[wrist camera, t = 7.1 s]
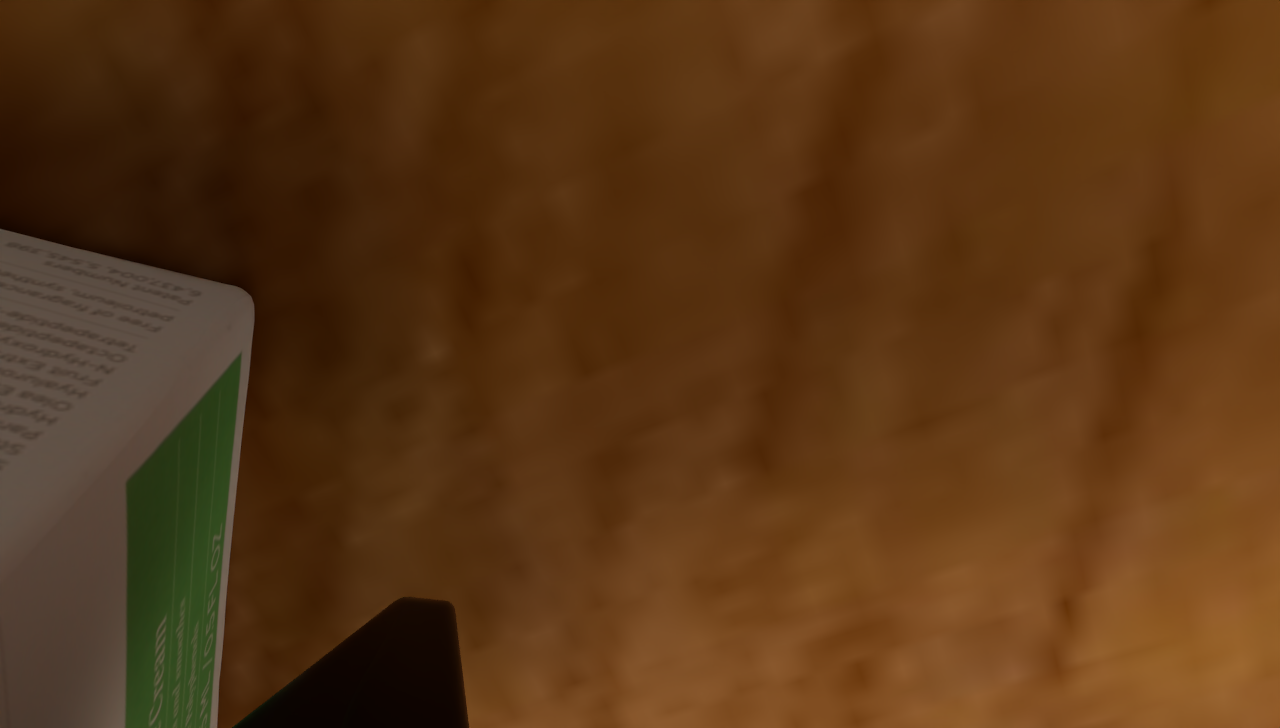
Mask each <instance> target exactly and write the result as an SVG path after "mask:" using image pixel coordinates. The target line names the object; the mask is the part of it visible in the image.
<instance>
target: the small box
mask: <svg viewBox="0 0 1280 728" xmlns="http://www.w3.org/2000/svg"><path fill="white" fill-rule="evenodd" d="M253 330H254V303H253V300H252V297H251V296H250V295H249V294H248V293H247V292H246V291H245V290H243V289H242V288H240V287H237V286H233V285H228V284H224V283H219V282H215V281H211V280H207V279H203V278H199V277H195V276H191V275H186V274H182V273H177V272H173V271H169V270H165V269H161V268H156V267H153V266H149V265H144V264H140V263H136V262H132V261H128V260H124V259H119V258H115V257H111V256H107V255H102V254H98V253H95V252H91V251H87V250H82V249H77V248H73V247H69V246H65V245H61V244H57V243H54V242H50V241H46V240H42V239H38V238H34V237H30V236H26V235H22V234H19V233H15V232H11V231H7V230H3V229H0V728H217V722H218V701H219V679H220V671H221V661H222V650H223V639H224V625H225V611H226V596H227V585H228V574H229V562H230V552H231V541H232V530H233V520H234V510H235V501H236V491H237V481H238V471H239V461H240V451H241V441H242V432H243V423H244V414H245V405H246V397H247V388H248V380H249V371H250V359H251V348H252V338H253Z"/></svg>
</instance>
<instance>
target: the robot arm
mask: <svg viewBox="0 0 1280 728" xmlns="http://www.w3.org/2000/svg"><path fill="white" fill-rule="evenodd" d="M232 728H469V723H468V715H467V707H466V698H465V690H464V681H463V673H462V665H461V656H460V648H459V640H458V631H457V623H456V614H455V609H454V606H453V605H452V604H451V603H450V602H448V601H442V600H433V599H424V598H415V597H403V598H400V599H398V600H396V601H395V602H393V603H392V604H391V605H389V606H388V607H387V608H385V609H384V610H383V611H382V612H380V613H379V614H378V615H376V616H375V617H374V618H373V619H371V620H370V621H369V622H367V623H366V624H365V625H364V626H362V627H361V628H360V629H358V630H357V631H356V632H355V633H353V634H352V635H351V636H349V637H348V638H347V639H346V640H344V641H343V642H342V643H340V644H339V645H338V646H337V647H335V648H334V649H333V650H331V651H330V652H329V653H328V654H326V655H325V656H324V657H322V658H321V659H320V660H319V661H317V662H316V663H315V664H313V665H312V666H311V667H310V668H308V669H307V670H306V671H304V672H303V673H302V674H301V675H299V676H298V677H297V678H295V679H294V680H293V681H292V682H290V683H289V684H288V685H286V686H285V687H284V688H283V689H281V690H280V691H279V692H277V693H276V694H275V695H274V696H272V697H271V698H270V699H268V700H267V701H266V702H265V703H263V704H262V705H261V706H259V707H258V708H257V709H256V710H254V711H253V712H252V713H250V714H249V715H248V716H247V717H245V718H244V719H243V720H241V721H240V722H239V723H237V724H236V725H235V726H234V727H232Z"/></svg>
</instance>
